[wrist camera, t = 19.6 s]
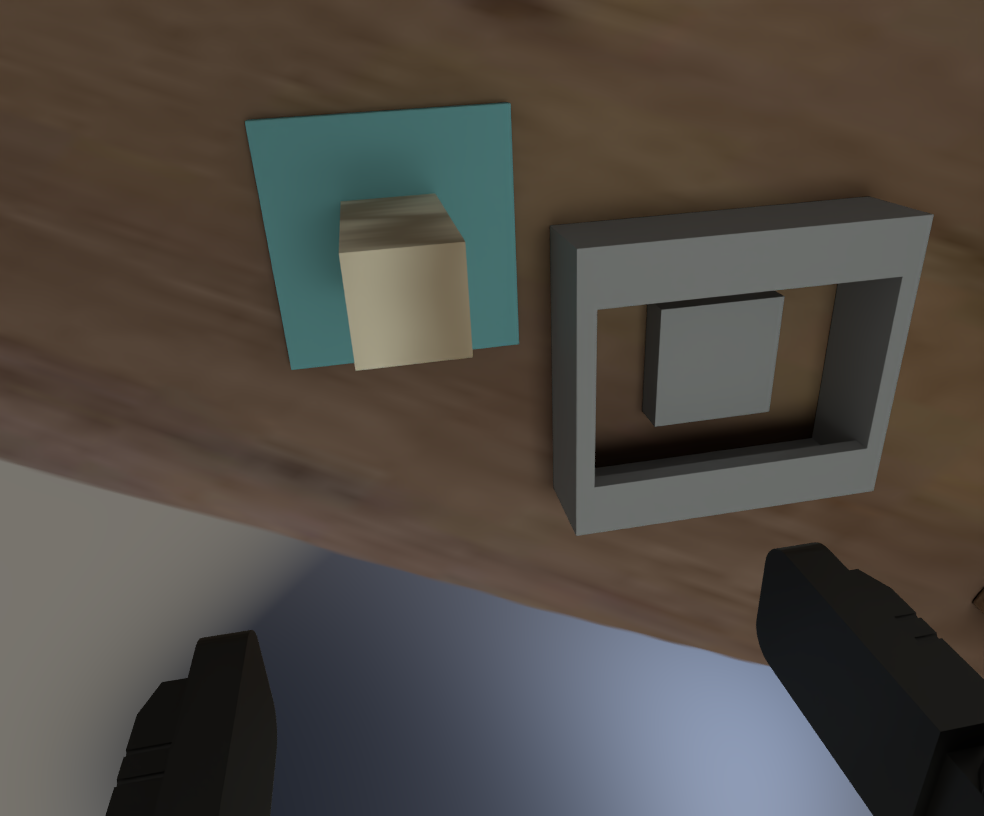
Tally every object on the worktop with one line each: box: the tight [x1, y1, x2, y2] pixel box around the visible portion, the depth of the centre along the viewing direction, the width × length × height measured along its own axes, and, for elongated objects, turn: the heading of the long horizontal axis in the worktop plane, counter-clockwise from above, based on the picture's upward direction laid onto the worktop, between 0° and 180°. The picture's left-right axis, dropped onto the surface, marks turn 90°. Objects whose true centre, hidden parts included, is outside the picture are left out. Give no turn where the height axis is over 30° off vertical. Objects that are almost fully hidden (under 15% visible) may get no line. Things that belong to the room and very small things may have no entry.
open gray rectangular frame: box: [550, 197, 934, 536], centre depth 40 cm, size 18×16×5 cm
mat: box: [245, 102, 519, 370], centre depth 36 cm, size 12×12×1 cm
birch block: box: [339, 194, 473, 371], centre depth 31 cm, size 4×4×10 cm
